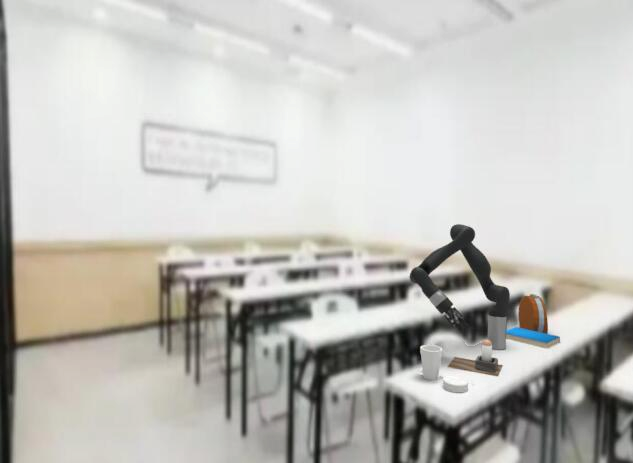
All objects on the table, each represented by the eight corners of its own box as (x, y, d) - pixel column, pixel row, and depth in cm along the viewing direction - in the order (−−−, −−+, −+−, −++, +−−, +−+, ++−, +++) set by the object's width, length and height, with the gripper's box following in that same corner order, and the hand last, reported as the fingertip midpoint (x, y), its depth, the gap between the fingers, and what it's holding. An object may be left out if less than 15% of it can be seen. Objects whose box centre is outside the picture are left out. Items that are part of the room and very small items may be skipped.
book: (547, 342, 238) (502, 331, 257) (547, 350, 239) (501, 338, 257) (560, 336, 249) (516, 326, 268) (560, 343, 250) (515, 333, 269)
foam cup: (438, 373, 202) (438, 344, 201) (444, 381, 193) (445, 351, 192) (417, 373, 202) (417, 344, 201) (422, 381, 193) (423, 351, 192)
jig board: (454, 359, 221) (455, 348, 220) (502, 367, 210) (503, 356, 210) (446, 369, 207) (447, 358, 206) (497, 379, 196) (498, 367, 196)
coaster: (457, 395, 179) (458, 386, 179) (437, 387, 188) (438, 378, 187) (473, 389, 185) (473, 381, 185) (453, 381, 193) (453, 373, 193)
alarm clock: (550, 337, 260) (552, 298, 258) (533, 336, 260) (535, 298, 259) (533, 326, 282) (534, 291, 280) (517, 326, 282) (518, 290, 281)
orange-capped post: (482, 365, 209) (482, 337, 208) (492, 367, 207) (492, 339, 206) (480, 368, 205) (481, 340, 204) (490, 370, 203) (491, 341, 202)
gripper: (442, 299, 207) (467, 327, 202) (449, 294, 219) (473, 320, 214) (431, 309, 210) (455, 337, 205) (438, 303, 222) (461, 329, 217)
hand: (464, 328), depth 210 cm, fingers open, 8 cm apart
